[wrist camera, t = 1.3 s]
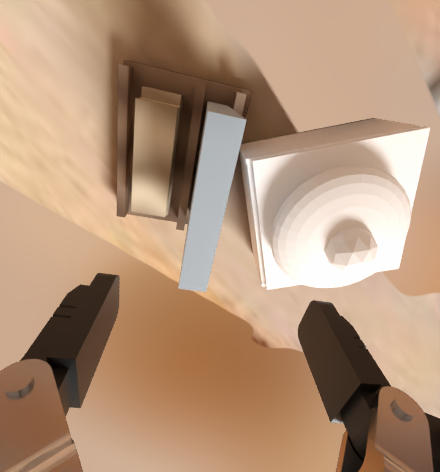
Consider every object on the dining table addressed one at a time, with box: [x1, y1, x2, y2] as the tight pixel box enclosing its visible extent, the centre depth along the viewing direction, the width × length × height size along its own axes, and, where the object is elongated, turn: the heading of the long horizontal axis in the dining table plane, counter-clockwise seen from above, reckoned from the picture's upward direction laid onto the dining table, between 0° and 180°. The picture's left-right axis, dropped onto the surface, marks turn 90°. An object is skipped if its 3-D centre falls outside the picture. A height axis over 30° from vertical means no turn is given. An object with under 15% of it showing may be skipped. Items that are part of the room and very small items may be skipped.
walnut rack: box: [117, 60, 252, 230], centre depth 31 cm, size 18×14×4 cm
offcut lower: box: [141, 87, 183, 216], centre depth 31 cm, size 14×4×2 cm, turn 168°
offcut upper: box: [131, 98, 180, 217], centre depth 28 cm, size 12×4×2 cm, turn 168°
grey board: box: [179, 101, 247, 292], centre depth 26 cm, size 14×2×16 cm, turn 168°
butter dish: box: [239, 118, 430, 290], centre depth 30 cm, size 18×18×16 cm
